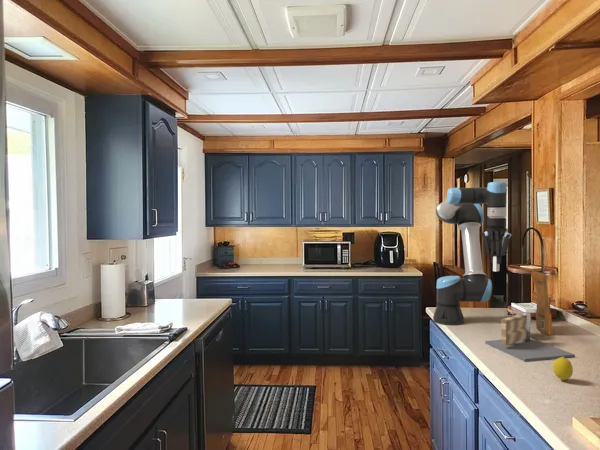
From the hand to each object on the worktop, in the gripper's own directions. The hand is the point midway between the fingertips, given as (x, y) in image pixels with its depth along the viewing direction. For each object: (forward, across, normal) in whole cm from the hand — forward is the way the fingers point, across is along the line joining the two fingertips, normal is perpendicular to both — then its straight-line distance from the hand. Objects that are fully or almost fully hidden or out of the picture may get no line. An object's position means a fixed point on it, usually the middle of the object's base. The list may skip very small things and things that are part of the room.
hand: (496, 271), depth 189 cm
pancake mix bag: (+31, +6, +30) cm, 44 cm away
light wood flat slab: (+28, +11, -5) cm, 30 cm away
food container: (+31, +6, +13) cm, 34 cm away
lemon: (+29, +39, -28) cm, 56 cm away
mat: (+30, +16, -4) cm, 34 cm away
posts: (+30, +10, 0) cm, 32 cm away
